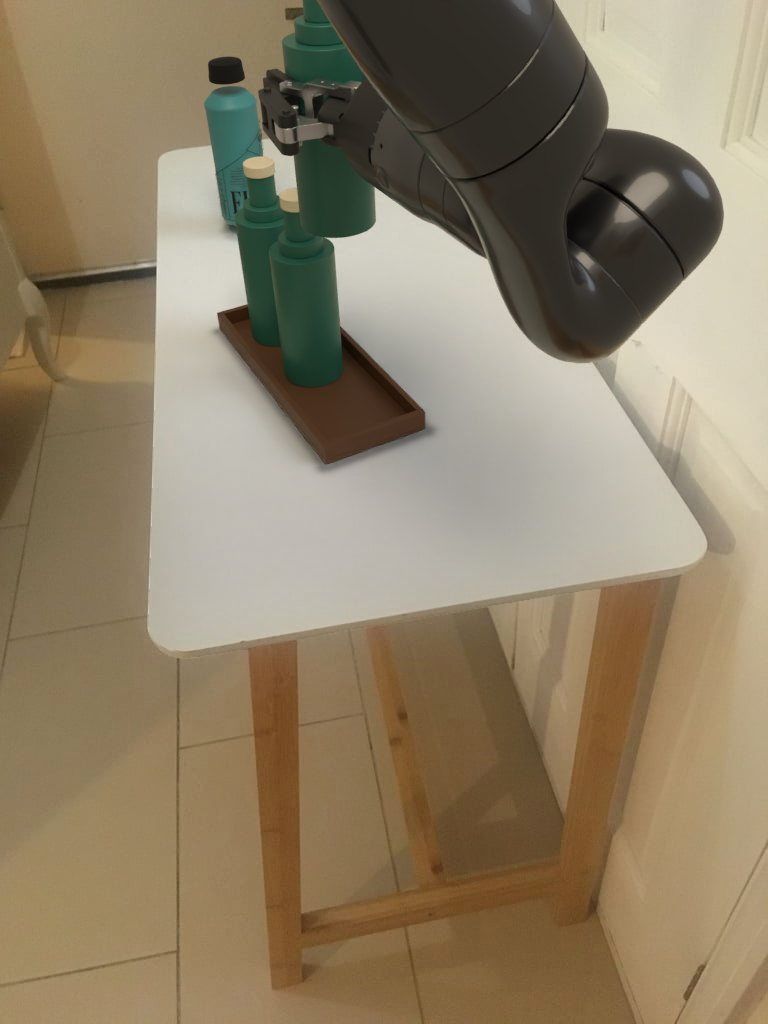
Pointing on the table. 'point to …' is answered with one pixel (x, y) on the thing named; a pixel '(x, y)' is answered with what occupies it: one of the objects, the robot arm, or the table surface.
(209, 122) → the beverage bottle
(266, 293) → the row bottle far
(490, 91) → the robot arm
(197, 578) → the table surface
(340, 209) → the green bottle
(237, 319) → the tray
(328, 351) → the row bottle middle
